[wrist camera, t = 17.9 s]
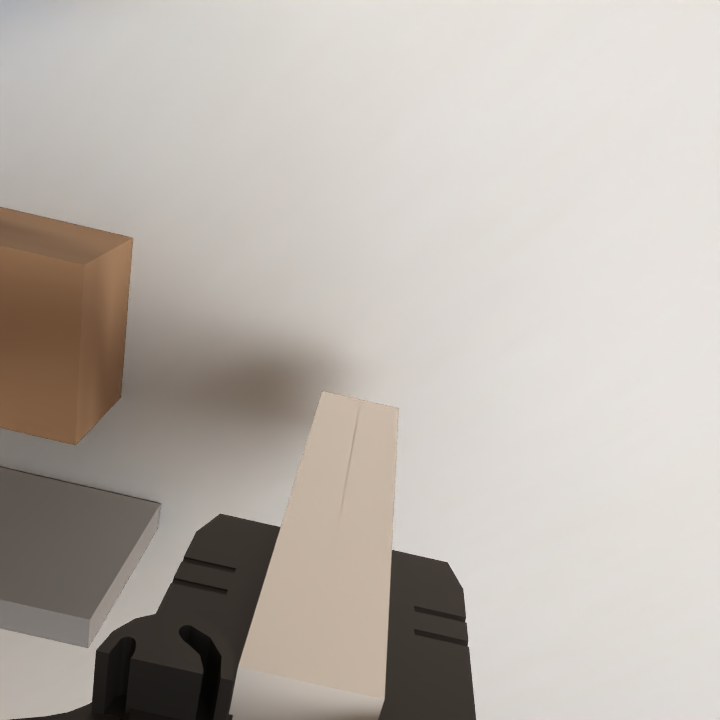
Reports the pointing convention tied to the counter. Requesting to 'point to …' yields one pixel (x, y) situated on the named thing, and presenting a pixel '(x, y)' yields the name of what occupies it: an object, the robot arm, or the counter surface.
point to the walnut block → (60, 324)
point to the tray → (66, 554)
